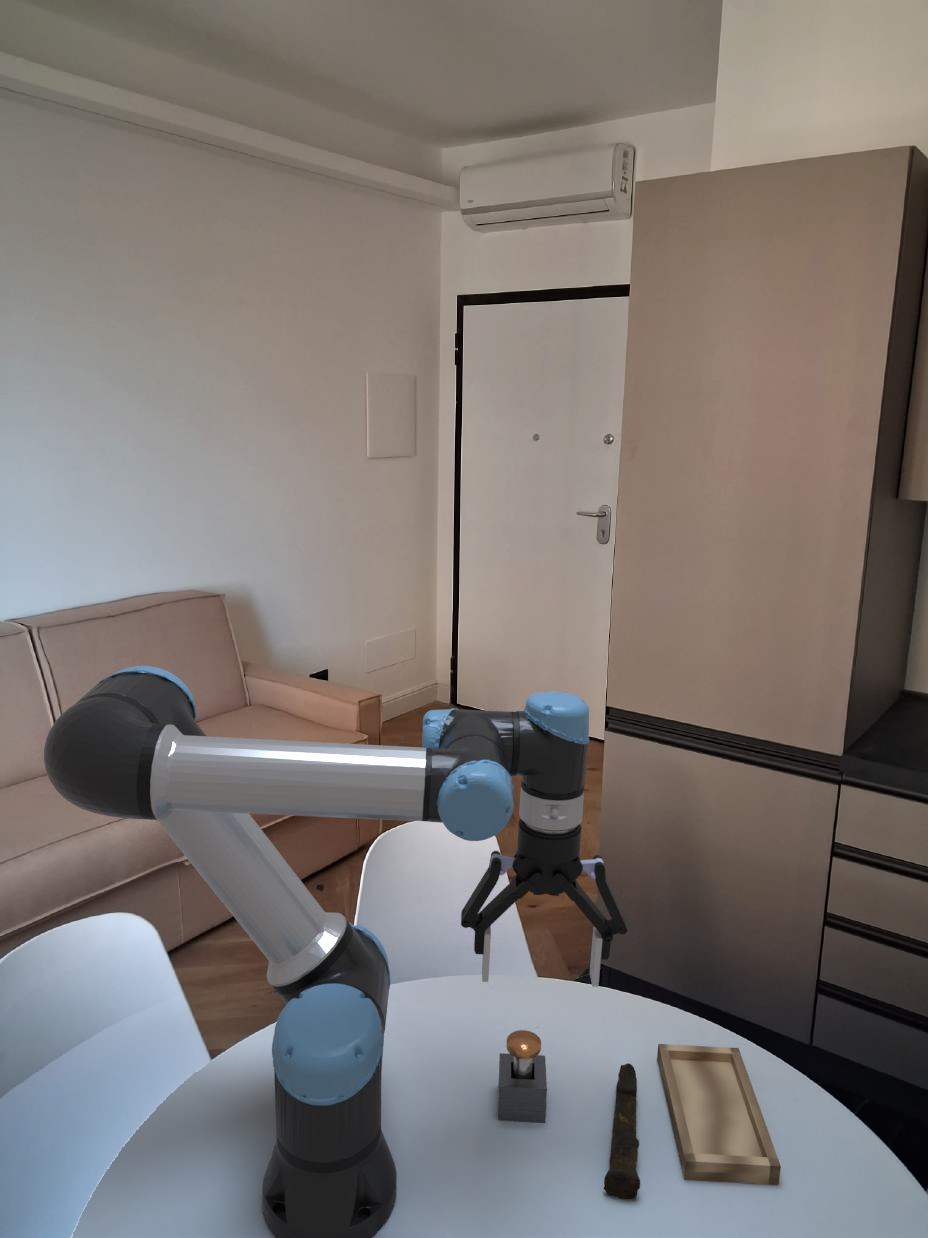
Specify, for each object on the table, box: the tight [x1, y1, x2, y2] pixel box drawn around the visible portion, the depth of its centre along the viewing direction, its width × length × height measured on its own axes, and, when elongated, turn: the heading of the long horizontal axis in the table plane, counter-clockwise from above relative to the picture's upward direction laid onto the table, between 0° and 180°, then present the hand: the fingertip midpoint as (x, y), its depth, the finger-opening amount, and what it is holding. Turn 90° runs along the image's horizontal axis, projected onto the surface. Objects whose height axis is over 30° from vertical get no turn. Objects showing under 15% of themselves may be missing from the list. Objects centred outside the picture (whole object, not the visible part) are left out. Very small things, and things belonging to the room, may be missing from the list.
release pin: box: [505, 1029, 542, 1080], centre depth 116 cm, size 4×4×7 cm
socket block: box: [497, 1052, 548, 1124], centre depth 117 cm, size 6×6×5 cm
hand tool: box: [603, 1062, 641, 1201], centre depth 112 cm, size 19×4×5 cm, turn 166°
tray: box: [656, 1043, 782, 1186], centre depth 115 cm, size 11×20×3 cm, turn 177°
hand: (539, 978), depth 113 cm, fingers open, 13 cm apart
